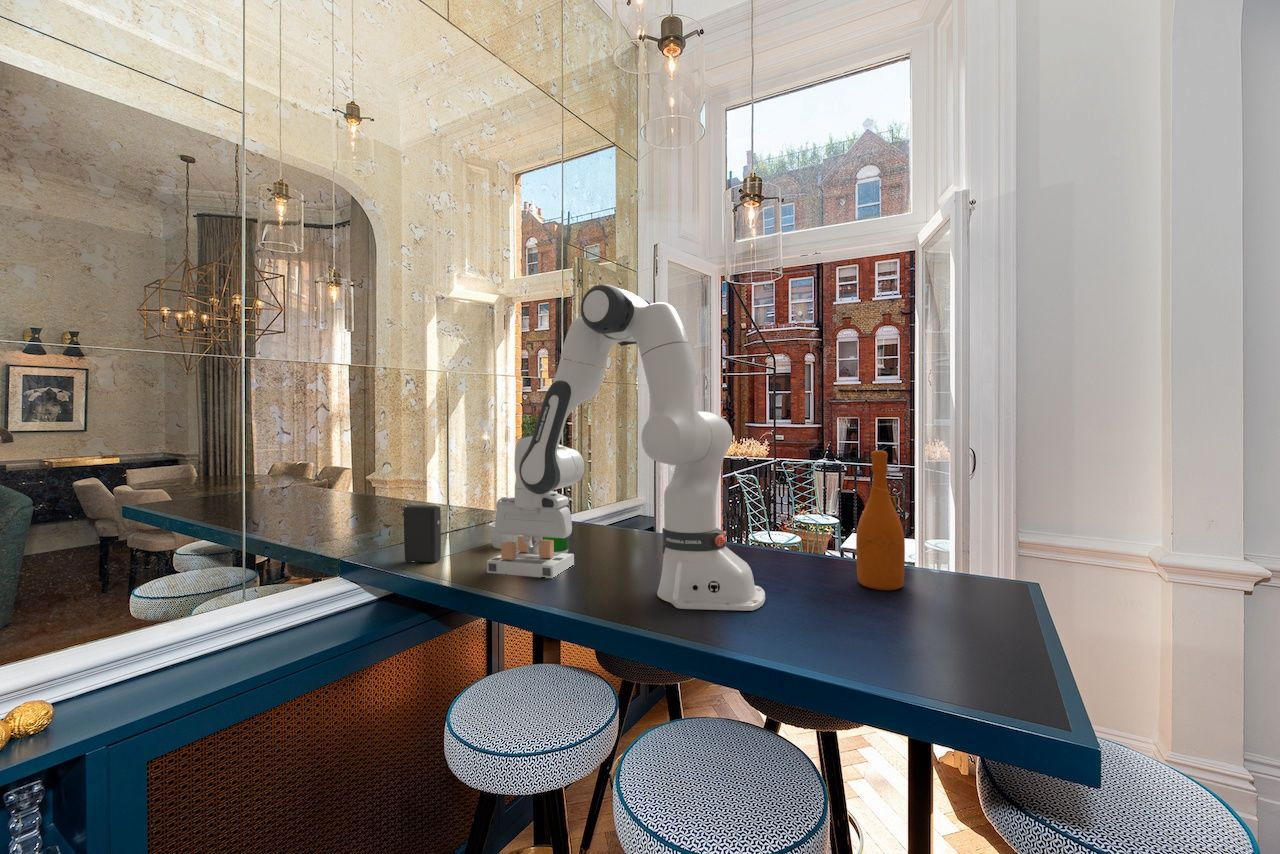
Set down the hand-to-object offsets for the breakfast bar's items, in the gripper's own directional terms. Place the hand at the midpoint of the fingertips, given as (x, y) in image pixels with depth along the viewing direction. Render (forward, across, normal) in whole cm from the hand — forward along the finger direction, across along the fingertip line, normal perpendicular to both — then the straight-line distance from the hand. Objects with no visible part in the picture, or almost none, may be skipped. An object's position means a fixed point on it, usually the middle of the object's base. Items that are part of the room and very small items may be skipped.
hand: (532, 553), depth 137 cm
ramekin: (+4, -20, +22) cm, 30 cm away
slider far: (+1, -5, +4) cm, 6 cm away
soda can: (+4, -2, +15) cm, 16 cm away
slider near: (+1, -4, -4) cm, 6 cm away
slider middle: (+1, +4, 0) cm, 4 cm away
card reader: (+4, -32, -1) cm, 33 cm away
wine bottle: (+4, +82, +9) cm, 82 cm away
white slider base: (+4, 0, 0) cm, 4 cm away
